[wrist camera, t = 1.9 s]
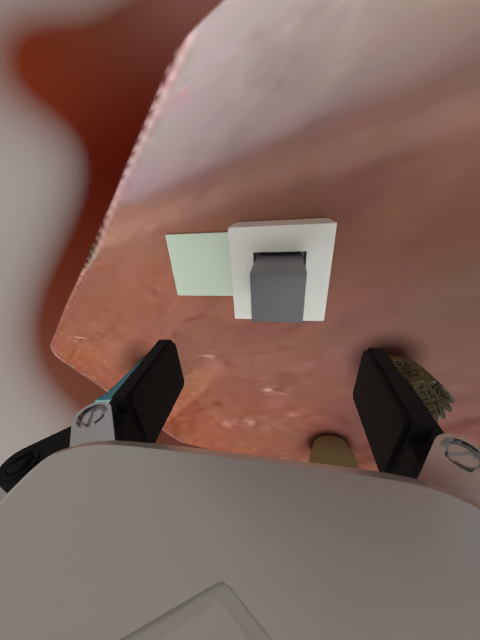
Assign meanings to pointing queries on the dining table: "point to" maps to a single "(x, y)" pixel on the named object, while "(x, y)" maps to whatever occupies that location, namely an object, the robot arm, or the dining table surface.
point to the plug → (278, 287)
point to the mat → (201, 263)
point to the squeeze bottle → (332, 452)
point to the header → (283, 237)
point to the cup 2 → (425, 386)
